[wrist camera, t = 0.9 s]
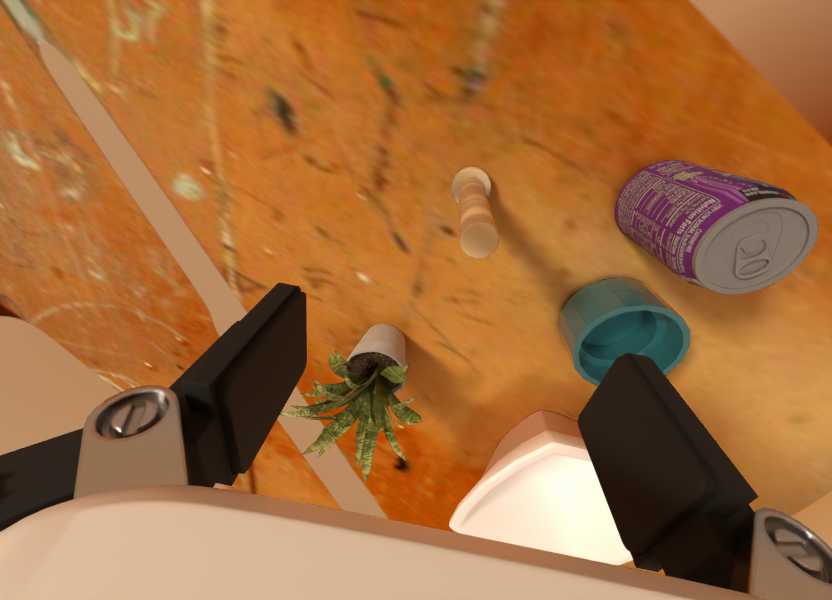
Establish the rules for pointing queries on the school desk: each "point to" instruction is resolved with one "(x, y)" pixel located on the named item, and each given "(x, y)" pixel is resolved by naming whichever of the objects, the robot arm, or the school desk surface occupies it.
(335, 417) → the house plant
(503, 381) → the school desk surface
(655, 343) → the mixing bowl
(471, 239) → the muddler
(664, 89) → the school desk surface
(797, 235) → the beverage can
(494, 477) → the bowl
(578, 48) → the school desk surface
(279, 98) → the school desk surface
